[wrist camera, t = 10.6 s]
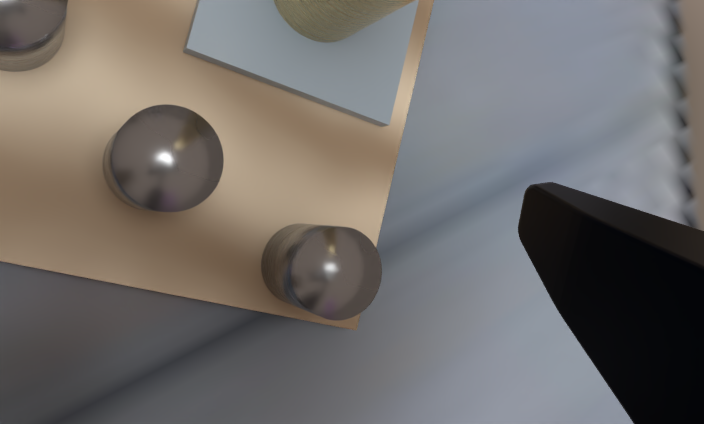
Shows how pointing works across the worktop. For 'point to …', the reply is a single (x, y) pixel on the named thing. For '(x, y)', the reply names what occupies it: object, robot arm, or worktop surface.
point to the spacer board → (238, 151)
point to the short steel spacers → (201, 179)
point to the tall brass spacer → (334, 16)
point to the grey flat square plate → (306, 55)
